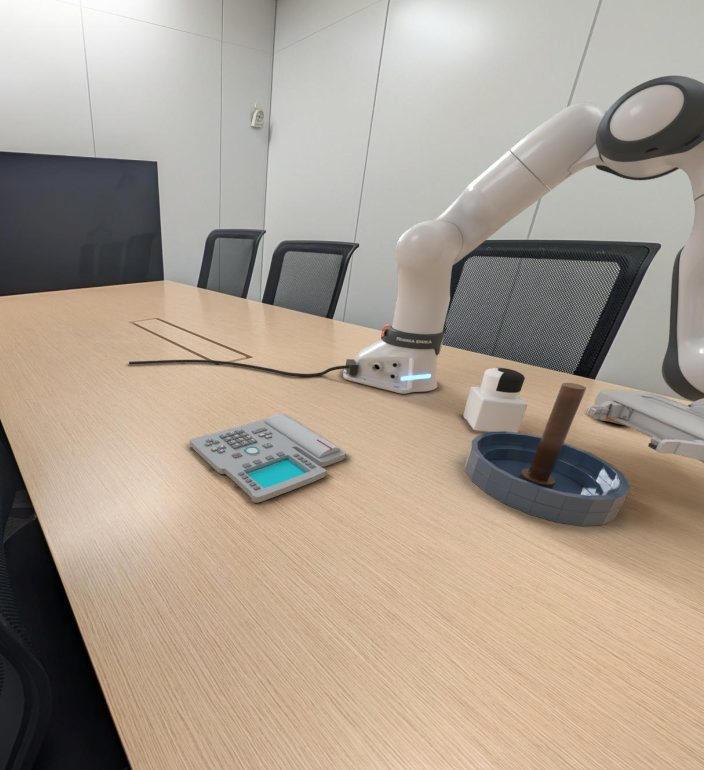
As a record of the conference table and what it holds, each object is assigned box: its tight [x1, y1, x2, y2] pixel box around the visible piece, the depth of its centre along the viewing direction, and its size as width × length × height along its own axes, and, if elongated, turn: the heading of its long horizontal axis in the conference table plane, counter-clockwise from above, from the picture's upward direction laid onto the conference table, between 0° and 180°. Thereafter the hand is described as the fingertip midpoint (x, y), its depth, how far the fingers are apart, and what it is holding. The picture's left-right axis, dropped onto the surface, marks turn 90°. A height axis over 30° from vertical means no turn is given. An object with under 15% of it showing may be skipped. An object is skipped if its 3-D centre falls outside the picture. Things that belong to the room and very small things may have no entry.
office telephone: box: [189, 413, 346, 504], centre depth 68 cm, size 23×3×20 cm
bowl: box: [464, 431, 632, 527], centre depth 57 cm, size 18×18×5 cm
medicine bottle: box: [462, 367, 528, 433], centre depth 73 cm, size 7×7×12 cm
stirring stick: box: [519, 382, 587, 489], centre depth 55 cm, size 4×4×17 cm
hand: (620, 427), depth 53 cm, fingers open, 8 cm apart
